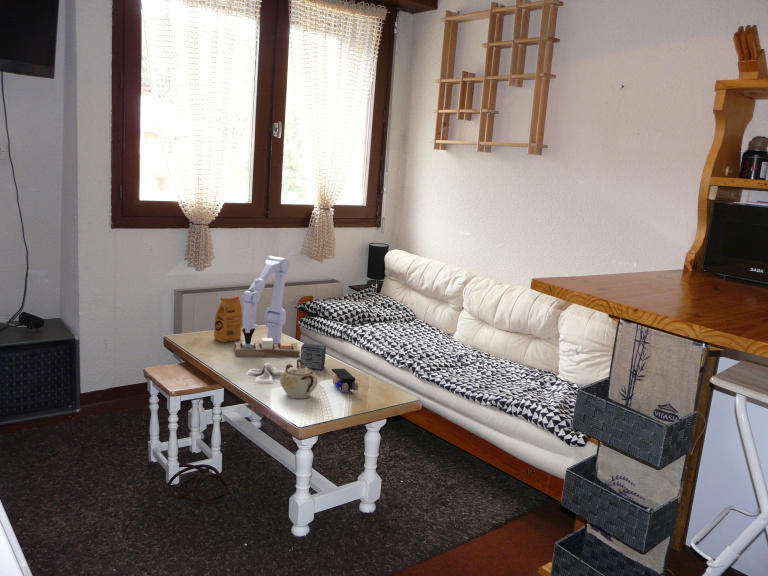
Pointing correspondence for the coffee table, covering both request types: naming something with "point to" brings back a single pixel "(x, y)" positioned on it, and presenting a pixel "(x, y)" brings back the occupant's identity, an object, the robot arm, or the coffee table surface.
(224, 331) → the coffee package
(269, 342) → the cream block
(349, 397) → the coffee table surface
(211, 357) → the coffee table surface
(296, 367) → the sugar bowl
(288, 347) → the terracotta block
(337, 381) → the figurine character
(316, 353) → the small box
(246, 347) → the slate block
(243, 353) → the block rack
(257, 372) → the cloth
